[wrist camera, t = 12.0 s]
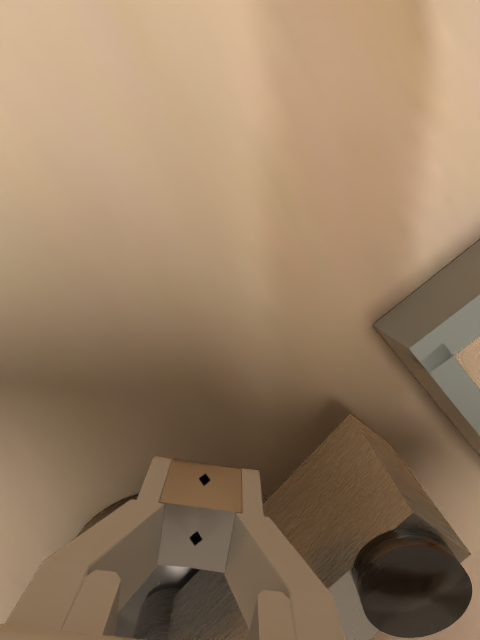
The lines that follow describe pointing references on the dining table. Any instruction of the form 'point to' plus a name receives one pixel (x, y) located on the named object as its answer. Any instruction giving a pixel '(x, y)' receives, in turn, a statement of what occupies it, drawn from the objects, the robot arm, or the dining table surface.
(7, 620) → the robot arm
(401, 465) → the crank
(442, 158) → the dining table surface
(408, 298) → the bay
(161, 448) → the dining table surface
